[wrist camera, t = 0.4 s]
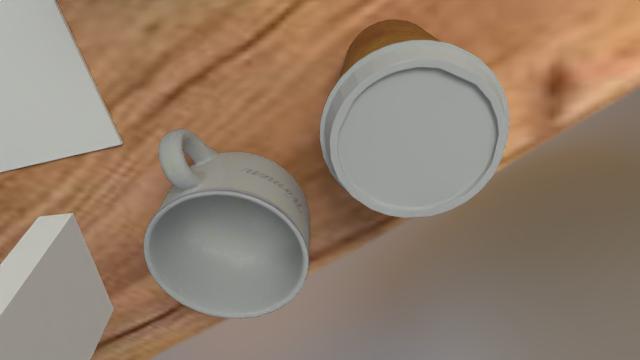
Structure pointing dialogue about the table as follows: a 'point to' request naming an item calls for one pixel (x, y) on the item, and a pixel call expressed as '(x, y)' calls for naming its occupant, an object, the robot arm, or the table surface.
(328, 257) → the table surface
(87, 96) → the paper
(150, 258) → the teacup
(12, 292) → the robot arm
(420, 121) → the disposable coffee cup
